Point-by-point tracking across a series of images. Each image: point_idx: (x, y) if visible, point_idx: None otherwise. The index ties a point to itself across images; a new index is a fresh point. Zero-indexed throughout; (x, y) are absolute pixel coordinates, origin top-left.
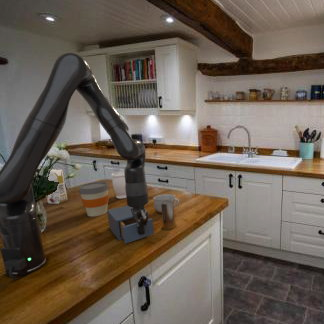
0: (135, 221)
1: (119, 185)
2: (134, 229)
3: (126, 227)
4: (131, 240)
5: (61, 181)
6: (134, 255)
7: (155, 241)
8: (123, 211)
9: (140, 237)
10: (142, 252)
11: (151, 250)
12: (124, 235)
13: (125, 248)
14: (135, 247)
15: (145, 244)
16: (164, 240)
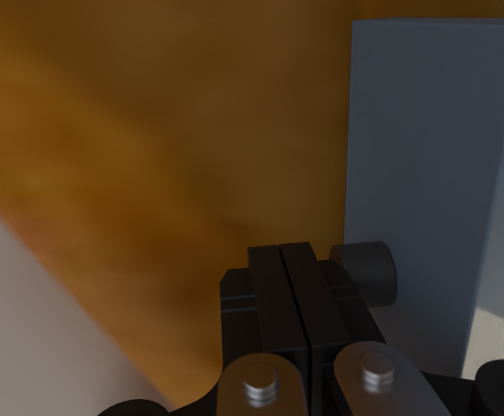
0: (478, 401)
1: None
2: (412, 237)
3: (493, 121)
4: (354, 116)
5: None
6: (14, 61)
7: (211, 318)
8: None
9: (349, 226)
10: (41, 159)
11: (36, 247)
12: (409, 32)
13: (274, 5)
14: (216, 120)
15: (213, 227)
16: (175, 381)
